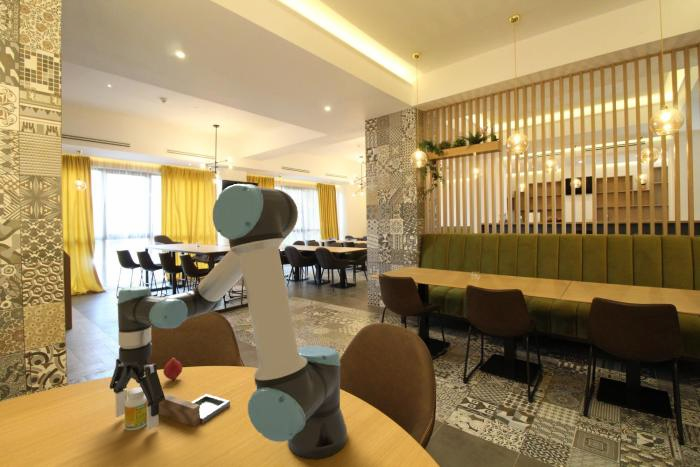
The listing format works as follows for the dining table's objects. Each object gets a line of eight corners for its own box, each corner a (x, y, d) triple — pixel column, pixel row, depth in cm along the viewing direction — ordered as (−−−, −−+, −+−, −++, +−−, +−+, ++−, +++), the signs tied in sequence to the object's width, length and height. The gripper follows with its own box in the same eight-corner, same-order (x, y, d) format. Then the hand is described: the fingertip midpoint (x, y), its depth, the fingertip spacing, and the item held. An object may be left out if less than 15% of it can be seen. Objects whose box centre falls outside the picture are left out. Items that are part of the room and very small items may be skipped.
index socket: (230, 405, 99) (229, 400, 99) (202, 423, 90) (202, 418, 90) (206, 398, 104) (206, 393, 104) (177, 415, 94) (177, 409, 94)
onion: (159, 383, 114) (159, 360, 114) (171, 375, 119) (171, 354, 119) (174, 384, 113) (174, 361, 113) (185, 376, 118) (185, 355, 118)
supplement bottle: (136, 432, 87) (136, 396, 86) (119, 429, 88) (119, 394, 87) (153, 420, 92) (152, 386, 92) (136, 418, 93) (136, 384, 93)
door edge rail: (201, 421, 91) (201, 396, 91) (192, 428, 88) (191, 402, 88) (150, 403, 101) (150, 381, 100) (140, 408, 98) (139, 385, 98)
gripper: (179, 346, 87) (180, 424, 88) (122, 333, 98) (123, 403, 98) (151, 356, 81) (153, 441, 81) (93, 341, 91) (95, 416, 92)
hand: (136, 420), depth 90 cm, fingers open, 13 cm apart
